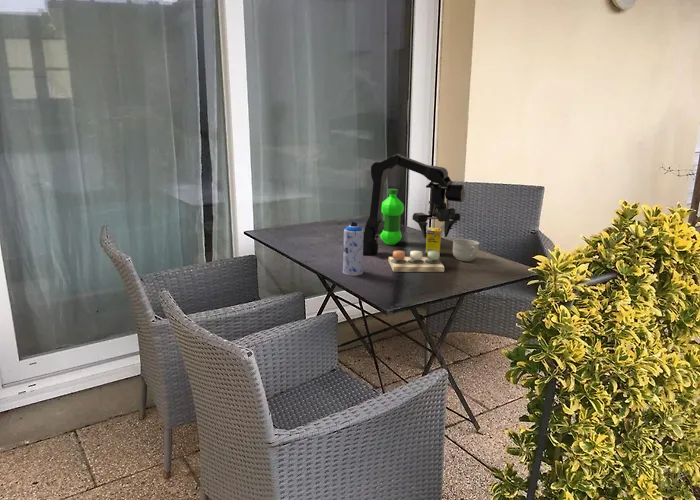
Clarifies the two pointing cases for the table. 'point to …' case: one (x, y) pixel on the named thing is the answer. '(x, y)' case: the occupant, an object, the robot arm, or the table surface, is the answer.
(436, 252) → the sage button
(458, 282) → the table surface
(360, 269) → the aerosol can
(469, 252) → the teacup
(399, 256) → the rust button
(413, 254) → the cream button
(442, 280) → the table surface
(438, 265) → the panel
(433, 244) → the supplement box
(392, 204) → the plastic bottle
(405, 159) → the robot arm
